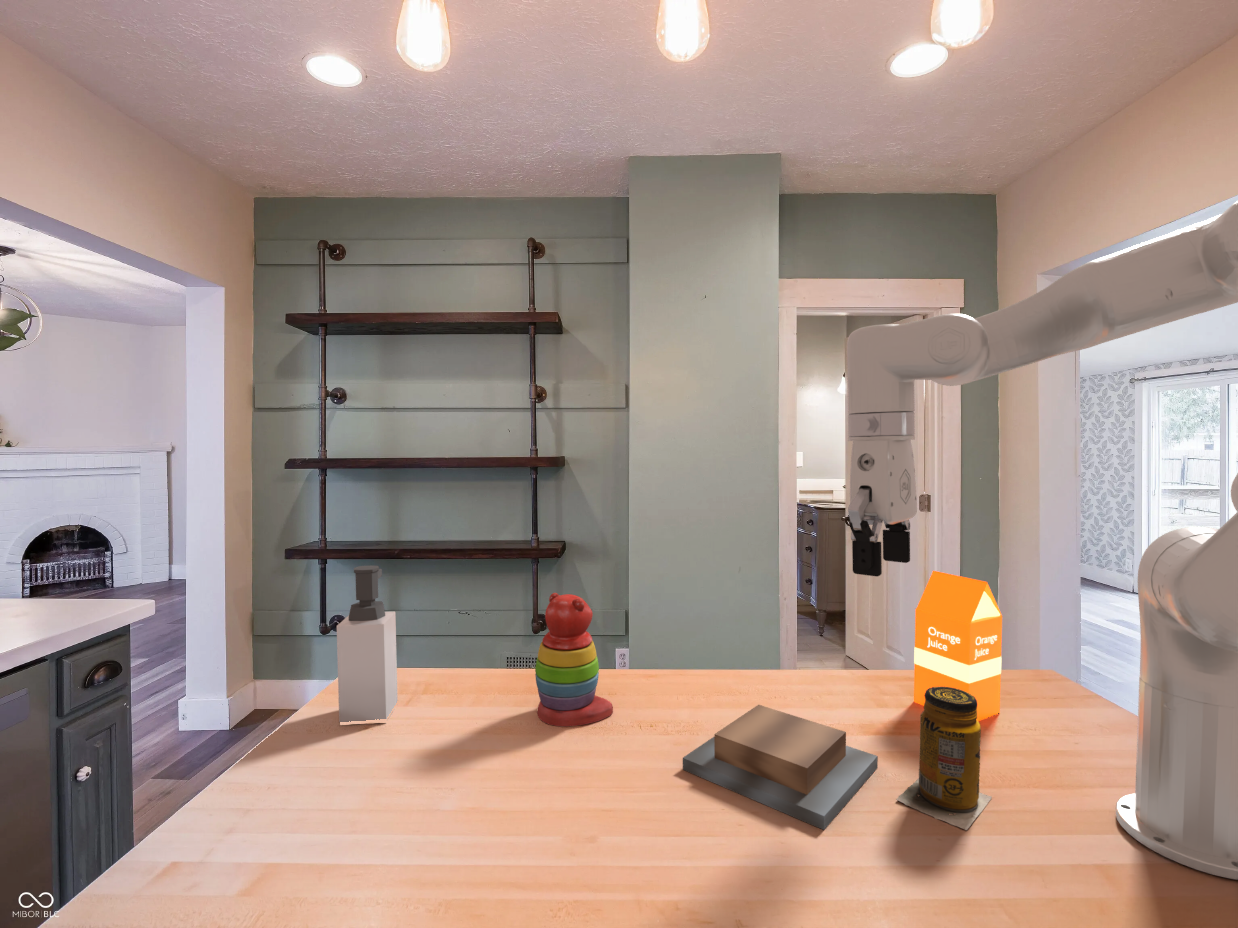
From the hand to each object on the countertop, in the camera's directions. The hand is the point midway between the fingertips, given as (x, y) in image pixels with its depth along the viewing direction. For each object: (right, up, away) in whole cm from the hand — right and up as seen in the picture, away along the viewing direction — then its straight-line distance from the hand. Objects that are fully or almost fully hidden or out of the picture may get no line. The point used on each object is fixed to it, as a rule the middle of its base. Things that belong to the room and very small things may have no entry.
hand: (882, 567), depth 77 cm
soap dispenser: (-70, -25, +17) cm, 76 cm away
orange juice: (+18, -24, +17) cm, 35 cm away
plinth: (-13, -25, 0) cm, 28 cm away
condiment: (+4, -25, -7) cm, 27 cm away
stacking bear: (-40, -25, +16) cm, 49 cm away
